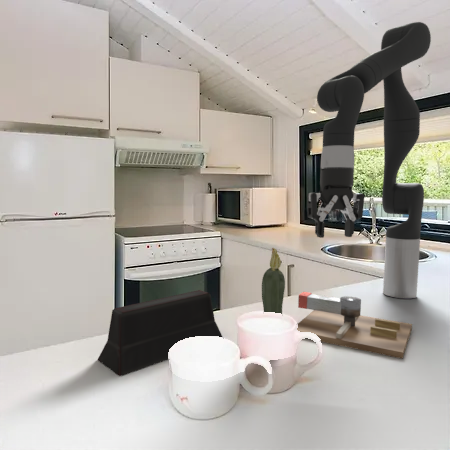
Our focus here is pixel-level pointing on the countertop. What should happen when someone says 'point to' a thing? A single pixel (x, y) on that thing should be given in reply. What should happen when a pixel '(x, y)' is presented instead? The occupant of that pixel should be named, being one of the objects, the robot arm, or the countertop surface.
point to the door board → (359, 332)
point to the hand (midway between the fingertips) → (334, 236)
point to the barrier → (155, 330)
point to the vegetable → (273, 285)
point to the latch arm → (331, 304)
